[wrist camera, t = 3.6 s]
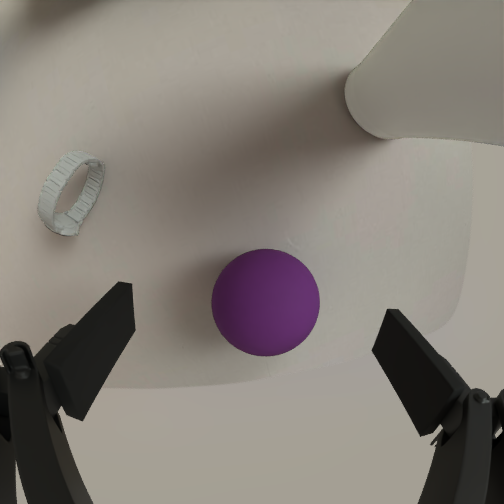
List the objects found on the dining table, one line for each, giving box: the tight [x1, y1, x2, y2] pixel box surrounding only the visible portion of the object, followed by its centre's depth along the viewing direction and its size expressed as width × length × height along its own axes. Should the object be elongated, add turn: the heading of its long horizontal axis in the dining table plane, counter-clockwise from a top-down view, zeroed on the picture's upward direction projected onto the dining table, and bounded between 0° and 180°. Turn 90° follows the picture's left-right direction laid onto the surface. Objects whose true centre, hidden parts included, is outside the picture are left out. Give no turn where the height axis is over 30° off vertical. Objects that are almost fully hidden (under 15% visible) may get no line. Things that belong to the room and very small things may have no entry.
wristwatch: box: [38, 150, 105, 236], centre depth 14 cm, size 3×5×5 cm, turn 149°
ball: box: [212, 249, 320, 356], centre depth 15 cm, size 6×6×6 cm
